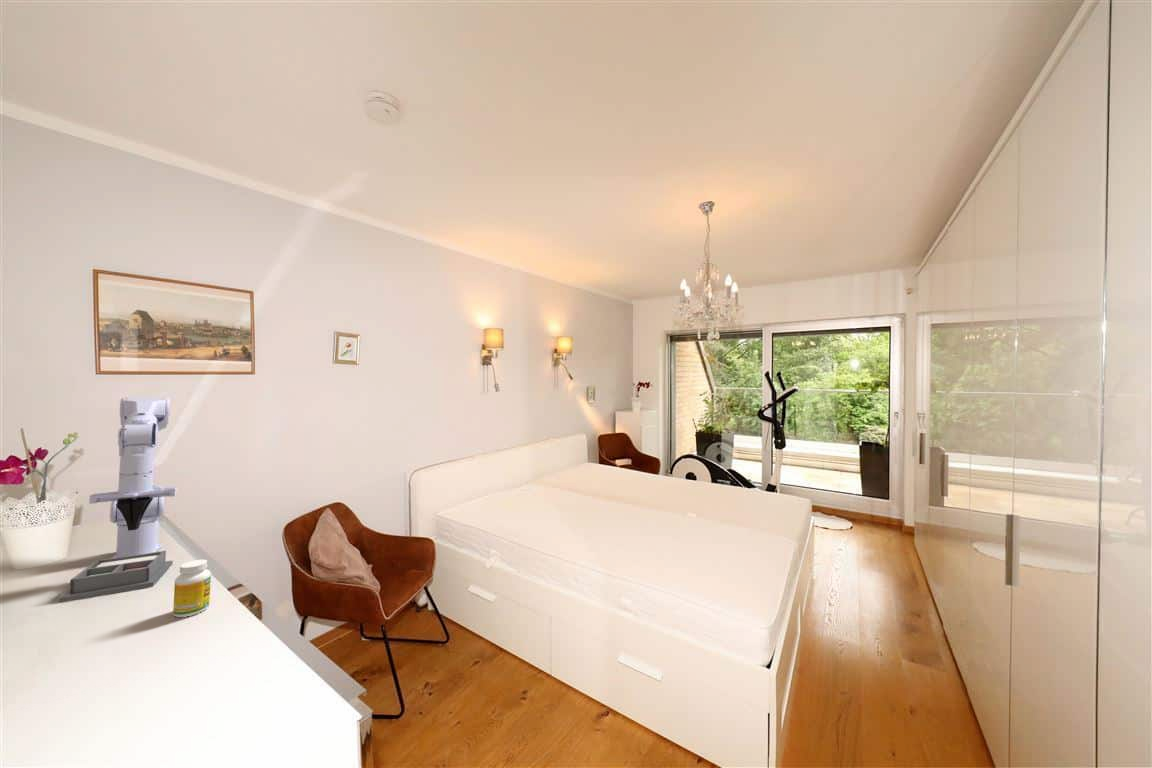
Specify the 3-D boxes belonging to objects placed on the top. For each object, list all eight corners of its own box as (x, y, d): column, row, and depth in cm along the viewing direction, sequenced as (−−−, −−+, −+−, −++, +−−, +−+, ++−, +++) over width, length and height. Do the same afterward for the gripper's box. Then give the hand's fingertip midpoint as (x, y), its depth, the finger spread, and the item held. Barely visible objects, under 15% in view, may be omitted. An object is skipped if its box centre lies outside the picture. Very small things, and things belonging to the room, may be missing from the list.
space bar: (100, 569, 95) (101, 563, 95) (157, 561, 100) (158, 555, 100) (92, 576, 92) (93, 569, 92) (152, 567, 97) (152, 560, 97)
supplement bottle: (174, 609, 82) (177, 562, 82) (210, 601, 85) (212, 555, 85) (171, 621, 78) (173, 571, 78) (208, 612, 81) (210, 564, 81)
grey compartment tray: (90, 576, 96) (91, 559, 96) (172, 564, 103) (173, 548, 103) (58, 602, 84) (59, 583, 84) (153, 586, 91) (154, 568, 91)
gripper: (84, 478, 92) (80, 539, 91) (172, 472, 100) (169, 528, 99) (98, 473, 98) (95, 530, 97) (180, 468, 106) (178, 521, 105)
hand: (133, 529), depth 98 cm, fingers closed
